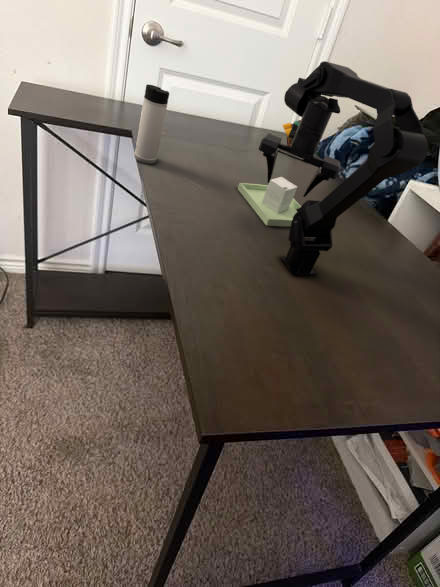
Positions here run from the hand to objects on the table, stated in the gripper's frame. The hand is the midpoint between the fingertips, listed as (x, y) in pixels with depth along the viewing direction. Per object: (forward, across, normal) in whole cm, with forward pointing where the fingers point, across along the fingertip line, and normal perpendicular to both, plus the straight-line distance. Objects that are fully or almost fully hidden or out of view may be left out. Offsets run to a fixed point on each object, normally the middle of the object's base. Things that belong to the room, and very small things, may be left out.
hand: (286, 189), depth 103 cm
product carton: (+12, +1, -14) cm, 18 cm away
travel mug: (+12, +40, -13) cm, 44 cm away
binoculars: (+12, +2, -66) cm, 68 cm away
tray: (+12, +1, -14) cm, 19 cm away
